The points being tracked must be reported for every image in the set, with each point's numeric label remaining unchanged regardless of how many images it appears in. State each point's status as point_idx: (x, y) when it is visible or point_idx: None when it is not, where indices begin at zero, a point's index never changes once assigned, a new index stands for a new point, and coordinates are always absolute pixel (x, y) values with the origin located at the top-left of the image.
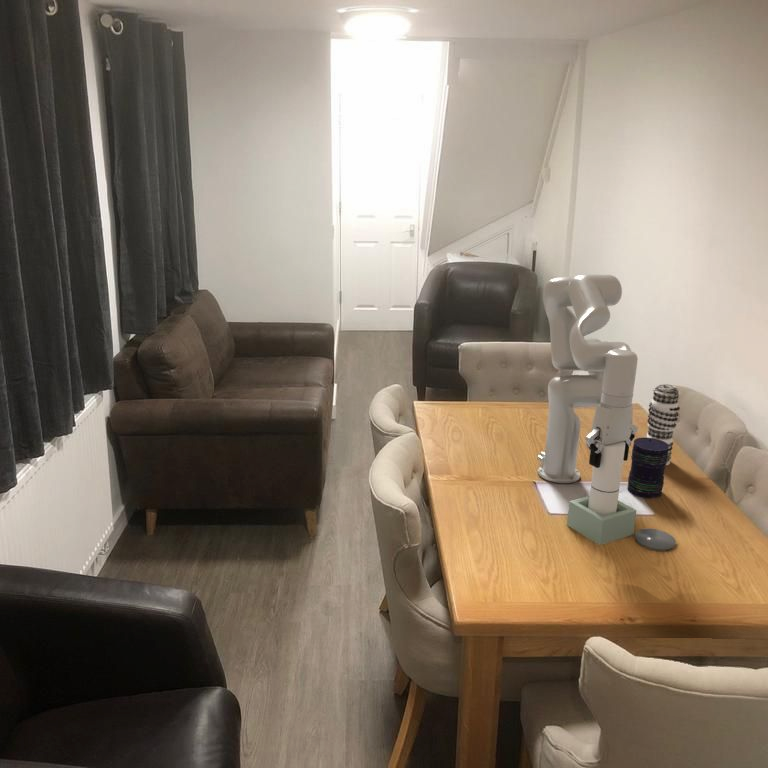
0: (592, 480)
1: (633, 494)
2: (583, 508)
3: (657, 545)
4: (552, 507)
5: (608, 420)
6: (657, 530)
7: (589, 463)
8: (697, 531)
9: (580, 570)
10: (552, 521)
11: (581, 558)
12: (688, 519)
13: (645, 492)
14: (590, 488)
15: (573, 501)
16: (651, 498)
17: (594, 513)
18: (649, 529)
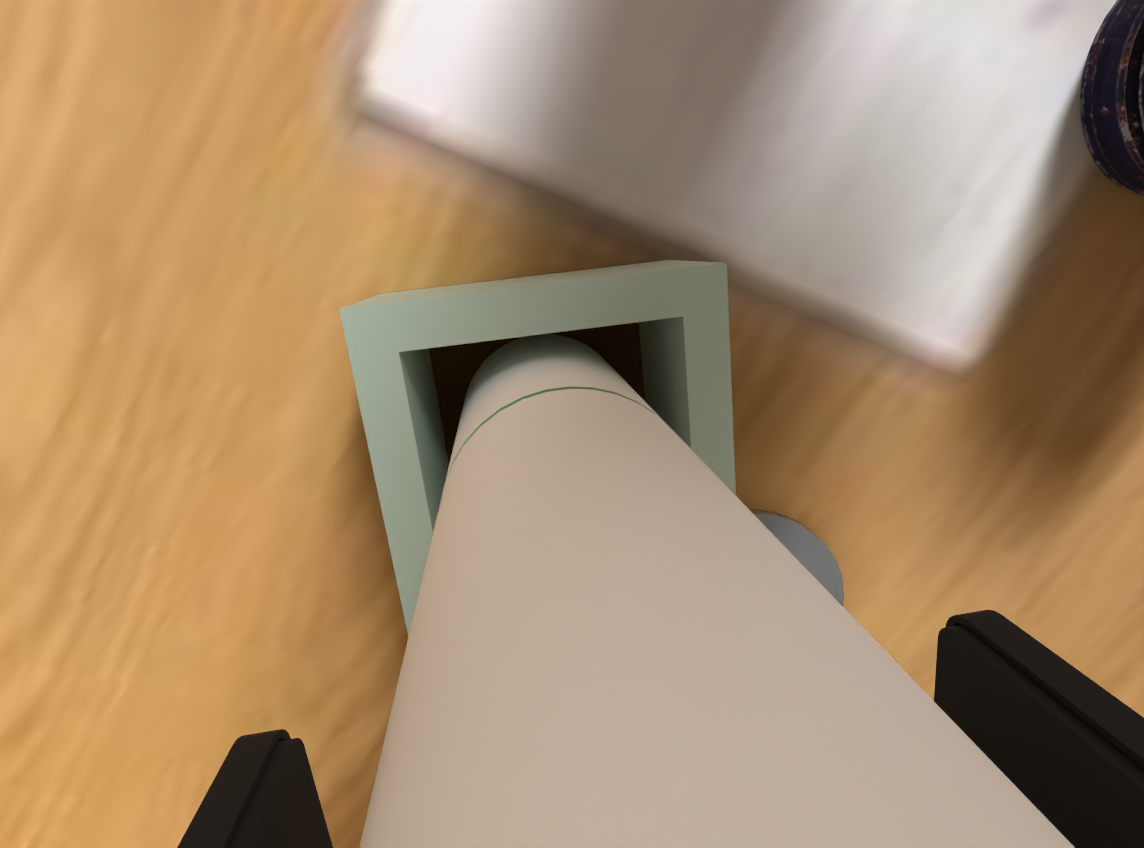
0: (432, 537)
1: (1082, 95)
2: (381, 459)
3: None
4: (430, 20)
5: None
6: (819, 552)
7: (245, 739)
8: (1002, 588)
9: (185, 720)
10: (313, 213)
11: (253, 633)
12: (1074, 479)
13: (1139, 163)
14: (461, 452)
15: (372, 326)
16: (1129, 191)
17: (419, 548)
18: (790, 530)
